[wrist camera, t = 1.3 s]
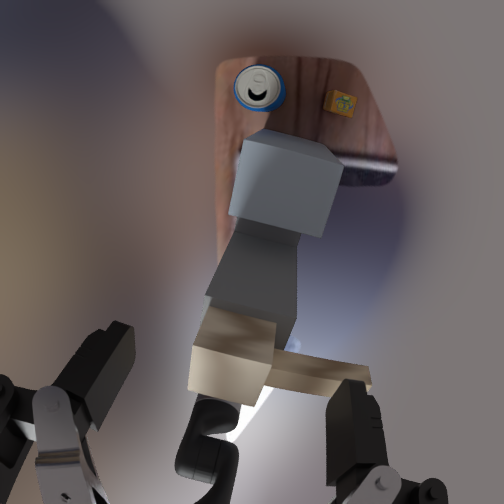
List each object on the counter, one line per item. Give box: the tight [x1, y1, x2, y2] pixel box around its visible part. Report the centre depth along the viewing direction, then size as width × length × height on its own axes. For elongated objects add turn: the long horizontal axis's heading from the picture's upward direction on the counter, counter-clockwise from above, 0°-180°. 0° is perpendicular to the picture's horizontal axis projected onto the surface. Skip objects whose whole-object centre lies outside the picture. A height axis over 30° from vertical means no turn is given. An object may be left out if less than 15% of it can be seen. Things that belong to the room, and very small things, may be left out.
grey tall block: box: [228, 129, 344, 238], centre depth 39 cm, size 8×10×21 cm
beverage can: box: [234, 64, 286, 112], centre depth 38 cm, size 6×6×12 cm
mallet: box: [188, 306, 372, 407], centre depth 25 cm, size 16×6×5 cm, turn 78°
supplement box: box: [323, 90, 357, 118], centre depth 39 cm, size 3×3×10 cm
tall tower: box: [200, 217, 301, 350], centre depth 40 cm, size 12×8×30 cm, turn 168°
